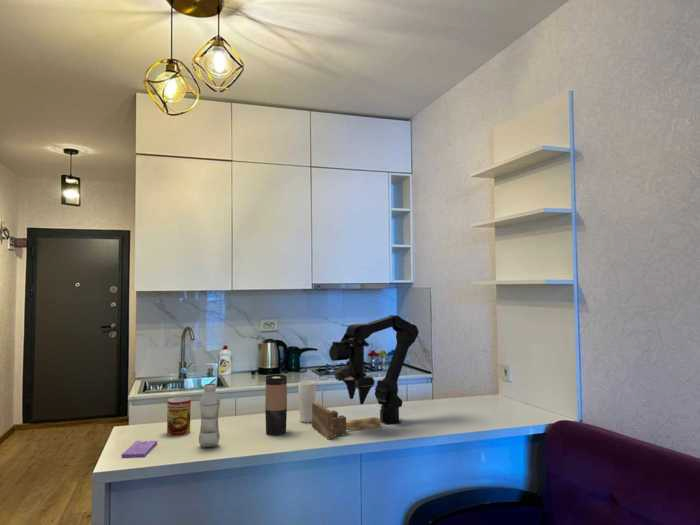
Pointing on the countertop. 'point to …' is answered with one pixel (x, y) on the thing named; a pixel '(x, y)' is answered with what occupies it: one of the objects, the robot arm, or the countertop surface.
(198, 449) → the countertop surface
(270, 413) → the travel mug
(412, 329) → the robot arm
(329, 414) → the walnut box
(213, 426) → the plastic bottle
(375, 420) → the hammer
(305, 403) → the white cylinder
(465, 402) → the countertop surface
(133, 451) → the sponges
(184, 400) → the canned food
